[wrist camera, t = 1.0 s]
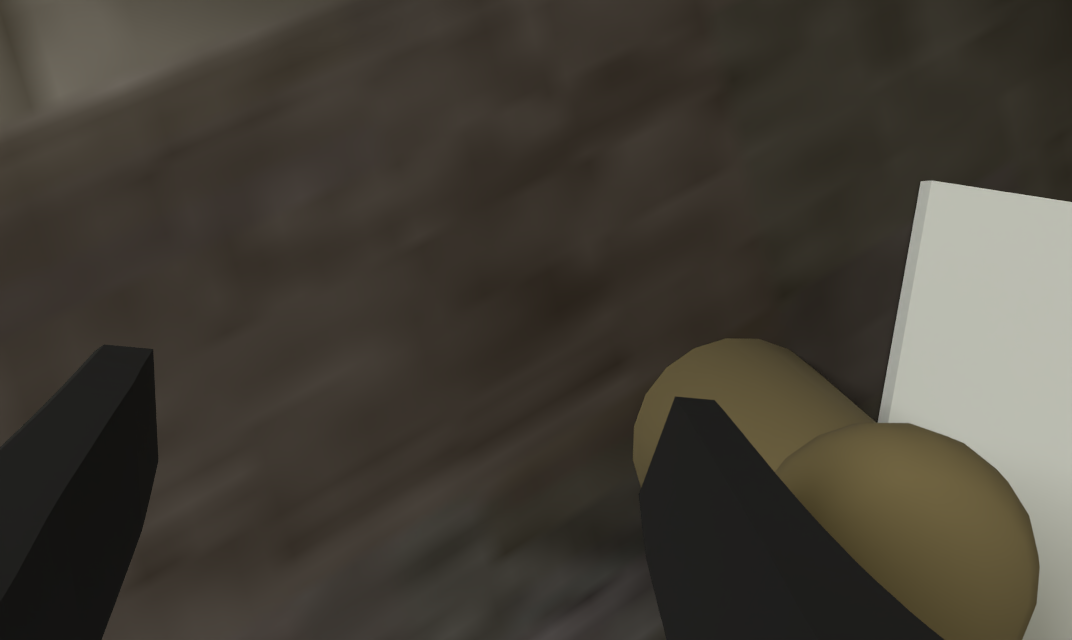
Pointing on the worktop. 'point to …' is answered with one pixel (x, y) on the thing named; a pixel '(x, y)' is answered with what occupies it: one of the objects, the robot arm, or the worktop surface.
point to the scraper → (995, 356)
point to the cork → (871, 486)
